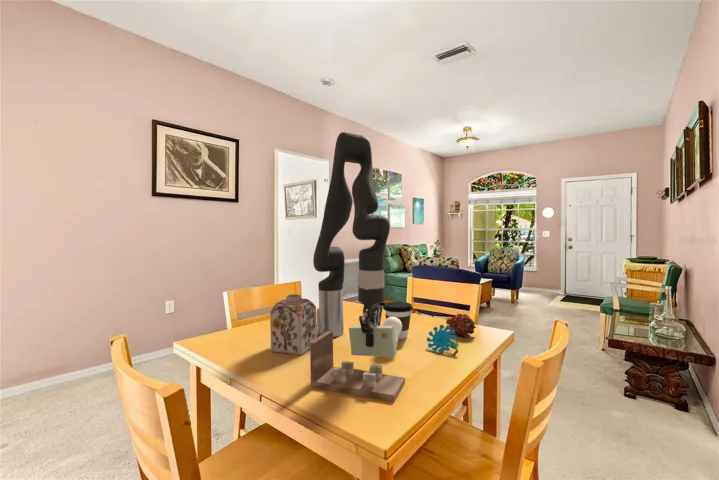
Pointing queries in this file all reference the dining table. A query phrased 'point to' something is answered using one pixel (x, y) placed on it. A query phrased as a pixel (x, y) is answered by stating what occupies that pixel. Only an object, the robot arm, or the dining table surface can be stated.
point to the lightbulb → (397, 326)
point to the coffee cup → (399, 315)
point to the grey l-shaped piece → (349, 374)
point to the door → (382, 342)
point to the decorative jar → (293, 325)
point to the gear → (442, 339)
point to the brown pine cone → (461, 324)
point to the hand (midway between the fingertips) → (371, 344)
